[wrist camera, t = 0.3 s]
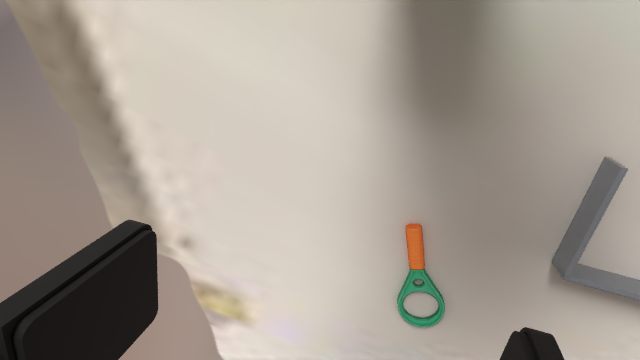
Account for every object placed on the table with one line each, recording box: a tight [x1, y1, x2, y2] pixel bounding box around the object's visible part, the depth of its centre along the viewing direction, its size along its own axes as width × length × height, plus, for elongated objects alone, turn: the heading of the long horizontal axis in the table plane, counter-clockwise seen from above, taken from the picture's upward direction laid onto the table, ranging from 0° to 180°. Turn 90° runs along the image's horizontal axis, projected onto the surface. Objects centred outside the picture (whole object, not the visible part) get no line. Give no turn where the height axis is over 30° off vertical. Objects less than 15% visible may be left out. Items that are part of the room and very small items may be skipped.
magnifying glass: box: [397, 224, 445, 327], centre depth 50 cm, size 15×6×2 cm, turn 10°
